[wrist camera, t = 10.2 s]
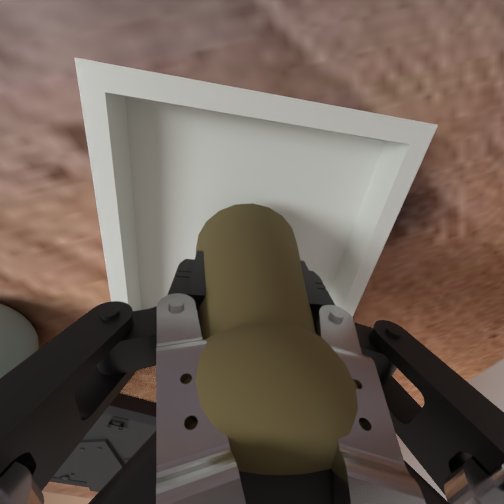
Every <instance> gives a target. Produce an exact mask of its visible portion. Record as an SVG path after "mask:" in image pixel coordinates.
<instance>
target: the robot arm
mask: <svg viewBox="0 0 504 504" xmlns="http://www.w3.org/2000/svg"><path fill="white" fill-rule="evenodd" d="M300 263H301V268H302V273H303V277H304V282H305V287H306V292H307V297H308V302H309V306H310V309H311V312H312V316H313V320H314V325H315V330H316V334H317V335H318V336H320V337H322V338H323V339H324V340H325V341H326V342H327V343H328V344H329V345H330V346H331V347H332V349H333V350H334V351H335V352H336V353H337V355H338V356H339V357H340V358H341V359H342V361H343V362H344V363H345V365H346V367H347V369H348V371H349V373H350V375H351V377H352V379H353V380H354V381H355V383H356V384H357V385H358V387H359V389H357V388H356V395H357V404H358V411H357V414H356V417H355V420H354V423H353V426H352V429H351V432H350V434H349V435H347V436H345V437H342V438H340V439H338V442H337V448H336V453H335V456H334V459H333V462H332V464H331V469H327V470H324V471H318V472H313V473H307V474H298V475H261V474H254V473H248V472H242V471H238V468H237V464H236V461H235V459H234V456H233V454H232V452H231V449H230V445H229V441H228V436H227V435H224V434H221V433H220V432H219V431H218V430H217V429H216V428H215V427H214V426H213V425H212V423H211V422H210V420H209V419H208V417H207V416H206V414H205V413H204V411H203V410H202V408H201V407H200V402H199V397H198V392H197V387H196V382H195V378H196V372H197V366H198V361H199V356H200V355H201V353H202V351H203V349H204V347H205V345H206V343H207V341H206V339H202V334H201V329H200V324H199V319H198V309H199V306H200V304H201V303H202V301H203V300H204V298H205V291H206V280H205V266H204V252H203V251H201V250H197V253H196V257H195V260H193V259H185V260H183V261H182V262H181V263H180V264H179V265H178V268H177V272H176V273H175V277H174V279H173V281H172V284H171V287H170V289H169V292H168V295H167V296H165V297H163V298H161V299H160V300H159V302H158V303H157V306H155V307H153V308H150V309H145V310H138V311H133V310H132V307H131V306H130V305H129V304H127V303H125V302H120V301H112V302H106V303H103V304H100V305H98V306H96V307H95V308H93V309H92V310H90V311H89V312H88V313H86V314H85V315H84V316H82V317H81V318H80V319H78V320H77V321H76V322H74V323H73V324H72V325H71V326H69V327H68V328H67V329H65V330H64V331H63V332H61V333H60V334H59V335H57V336H56V337H55V338H53V339H52V340H51V341H49V342H48V343H47V344H45V345H44V346H43V347H41V348H40V349H39V350H37V351H36V352H35V353H33V354H32V355H31V356H29V357H28V358H27V359H25V360H24V361H23V362H21V363H20V364H19V365H17V366H16V367H15V368H13V369H12V370H11V371H9V372H8V373H7V374H5V375H4V376H3V377H2V378H0V504H44V497H43V494H42V490H43V489H44V487H45V486H46V485H47V483H48V482H49V481H50V480H51V478H52V477H53V476H54V475H55V473H56V472H57V471H58V470H59V468H60V467H61V466H62V465H63V463H64V462H65V461H66V459H67V458H68V457H69V456H70V454H71V453H72V452H73V451H74V449H75V448H76V447H77V446H78V444H79V443H80V442H81V441H82V439H83V438H84V437H85V435H86V434H87V433H88V432H89V430H90V429H91V428H92V427H93V425H94V424H95V423H96V422H97V420H98V419H99V418H100V416H101V415H102V414H103V413H104V411H105V410H106V409H107V408H108V406H109V405H110V404H111V403H112V401H113V400H114V399H115V398H116V396H117V395H118V394H119V392H120V391H121V390H122V389H123V387H124V386H125V385H126V384H127V382H128V381H129V380H130V379H131V377H132V376H133V375H134V373H135V372H136V370H139V369H143V368H147V367H151V366H155V365H156V431H155V432H154V433H153V434H152V436H151V437H150V438H149V439H148V440H147V441H146V442H145V443H144V444H143V445H142V446H141V447H140V448H139V450H138V451H137V452H136V453H135V454H134V455H133V456H132V457H131V458H130V459H129V460H128V461H127V462H126V464H125V465H124V466H123V467H122V468H121V469H120V470H119V471H118V472H117V473H116V474H115V475H114V477H113V478H112V479H111V480H110V481H109V482H108V483H107V484H106V485H105V486H104V487H103V488H102V489H101V491H100V492H99V493H98V494H97V495H96V496H95V497H94V498H93V499H92V500H91V501H90V502H89V504H504V412H502V411H501V410H500V409H499V408H497V407H496V406H495V405H494V404H493V403H491V402H490V401H489V400H488V399H487V398H486V397H484V396H483V395H482V394H481V393H480V392H478V391H477V390H476V389H475V388H474V387H473V386H471V385H470V384H469V383H468V382H467V381H465V380H464V379H463V378H462V377H461V376H459V375H458V374H457V373H456V372H455V371H453V370H452V369H451V368H450V367H449V366H447V365H446V364H445V363H444V362H443V361H441V360H440V359H439V358H438V357H437V356H436V355H434V354H433V353H432V352H431V351H430V350H428V349H427V348H426V347H425V346H424V345H422V344H421V343H420V342H419V341H418V340H416V339H415V338H414V337H413V336H412V335H410V334H409V333H408V332H407V331H406V330H404V329H403V328H402V327H400V326H399V325H397V324H395V323H393V322H390V321H385V320H379V321H377V322H376V323H375V324H374V326H373V328H371V327H367V326H364V325H361V324H358V323H355V322H354V320H353V318H352V316H351V315H350V314H349V313H348V312H347V311H346V310H344V309H342V308H340V307H338V306H336V305H335V304H334V302H333V300H332V298H331V296H330V295H329V293H328V291H327V290H326V287H325V285H324V284H323V282H322V280H321V278H320V277H319V276H318V275H317V274H316V273H315V272H314V271H310V270H308V268H307V266H306V264H305V262H304V261H302V260H300ZM397 368H398V369H399V370H400V371H401V372H402V373H403V374H404V375H405V376H406V377H407V378H408V379H409V380H410V381H411V382H412V383H413V384H414V385H415V386H416V387H417V388H418V389H419V390H420V392H421V393H422V395H423V397H424V401H425V404H424V406H423V407H421V406H420V405H419V404H418V403H417V402H416V401H415V400H414V399H413V398H412V397H411V396H410V395H409V394H408V393H407V392H406V391H405V390H404V388H403V387H402V386H401V385H400V384H399V383H398V382H397V381H396V380H395V379H394V378H393V377H392V375H393V373H394V372H395V370H396V369H397ZM189 378H191V379H192V380H191V382H190V383H188V384H183V382H184V381H185V380H187V379H189ZM359 421H360V422H361V424H362V426H363V428H362V427H361V426H360V424H359ZM192 423H195V424H196V425H197V426H196V428H194V429H193V430H188V429H187V428H188V426H189V425H191V424H192ZM395 432H396V433H395ZM396 434H397V435H398V436H399V437H400V439H401V440H402V441H403V443H404V444H405V445H406V446H407V448H408V449H409V450H410V451H411V453H412V454H413V455H414V456H415V458H416V459H417V460H418V461H419V463H420V464H421V465H422V466H423V468H424V469H425V470H426V471H427V473H428V474H429V475H430V476H431V478H432V479H433V480H434V482H435V483H436V484H437V485H438V487H439V488H440V489H441V490H442V492H443V493H444V494H445V495H446V498H447V501H448V502H447V501H446V500H445V499H444V498H443V497H442V496H441V495H440V494H439V493H438V492H437V491H436V490H435V489H434V488H433V487H432V486H431V485H429V484H428V483H427V482H426V481H425V480H424V479H423V478H422V477H421V476H420V475H419V474H418V473H417V472H416V471H415V470H414V469H413V468H412V467H411V466H410V465H408V464H407V463H406V462H405V461H404V460H403V456H402V453H401V450H400V446H399V443H398V440H397V436H396Z"/></svg>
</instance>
